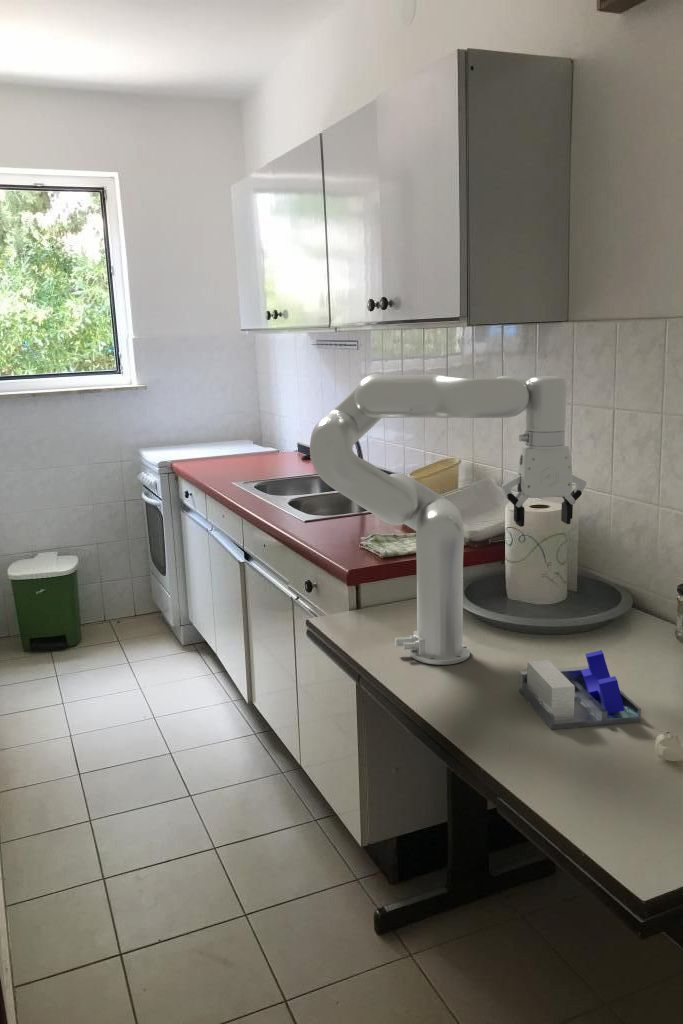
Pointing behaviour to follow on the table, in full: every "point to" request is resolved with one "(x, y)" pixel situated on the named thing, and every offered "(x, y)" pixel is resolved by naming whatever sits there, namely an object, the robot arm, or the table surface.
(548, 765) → the table surface
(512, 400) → the robot arm
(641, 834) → the table surface
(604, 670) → the blue curved block
